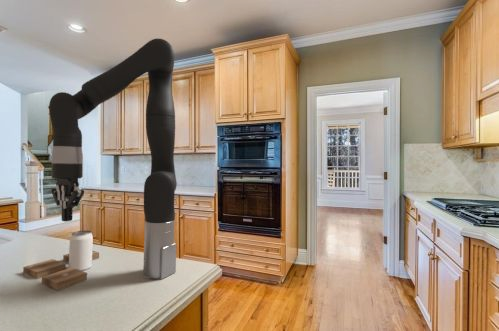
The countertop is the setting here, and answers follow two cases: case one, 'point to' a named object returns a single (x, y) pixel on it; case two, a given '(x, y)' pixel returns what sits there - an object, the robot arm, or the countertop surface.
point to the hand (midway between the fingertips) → (66, 220)
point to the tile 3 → (94, 256)
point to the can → (81, 250)
